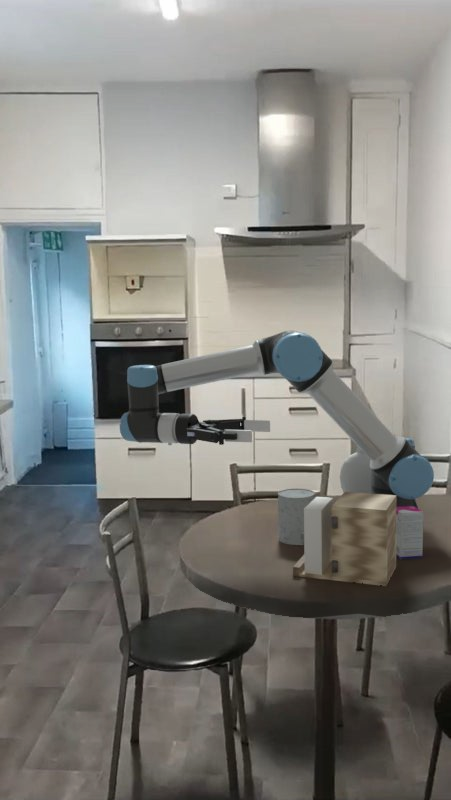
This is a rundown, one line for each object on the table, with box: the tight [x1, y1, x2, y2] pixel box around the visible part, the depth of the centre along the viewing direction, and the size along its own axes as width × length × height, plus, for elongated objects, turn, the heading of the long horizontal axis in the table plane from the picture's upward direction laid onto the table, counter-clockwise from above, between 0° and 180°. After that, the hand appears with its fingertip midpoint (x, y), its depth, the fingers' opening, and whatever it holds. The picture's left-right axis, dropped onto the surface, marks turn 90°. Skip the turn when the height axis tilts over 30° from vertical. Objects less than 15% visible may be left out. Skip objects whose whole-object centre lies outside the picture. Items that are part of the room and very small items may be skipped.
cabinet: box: [292, 492, 397, 587], centre depth 183 cm, size 21×14×17 cm
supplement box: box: [396, 506, 424, 560], centre depth 195 cm, size 6×6×12 cm
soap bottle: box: [339, 445, 371, 494], centre depth 241 cm, size 14×9×26 cm, turn 70°
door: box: [301, 496, 334, 575], centre depth 187 cm, size 5×11×15 cm, turn 159°
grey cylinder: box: [277, 488, 316, 546], centre depth 209 cm, size 10×10×12 cm
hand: (260, 431), depth 193 cm, fingers open, 13 cm apart
